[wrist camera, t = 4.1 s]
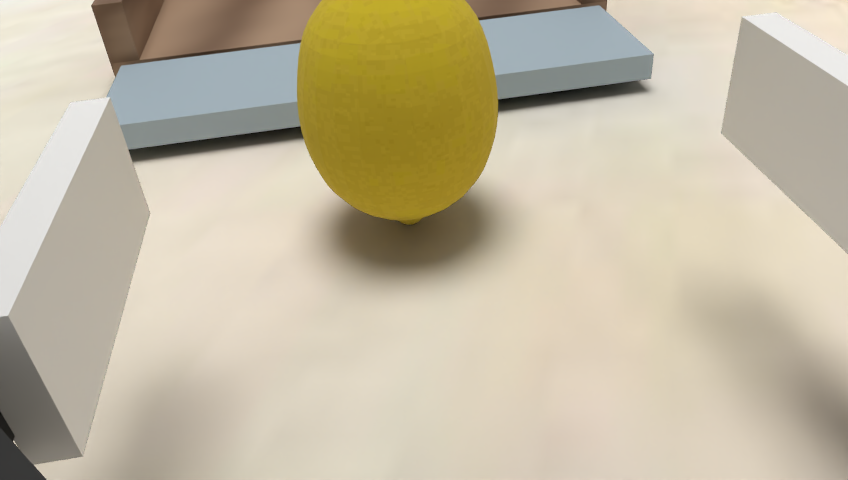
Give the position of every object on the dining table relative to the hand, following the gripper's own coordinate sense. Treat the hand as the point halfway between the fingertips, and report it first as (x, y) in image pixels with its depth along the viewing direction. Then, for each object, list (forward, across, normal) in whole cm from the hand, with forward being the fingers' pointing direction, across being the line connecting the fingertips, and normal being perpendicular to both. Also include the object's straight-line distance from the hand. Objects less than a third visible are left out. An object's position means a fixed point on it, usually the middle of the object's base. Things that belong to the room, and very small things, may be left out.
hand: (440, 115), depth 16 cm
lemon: (+5, 0, -6) cm, 8 cm away
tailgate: (+17, 0, -4) cm, 18 cm away
